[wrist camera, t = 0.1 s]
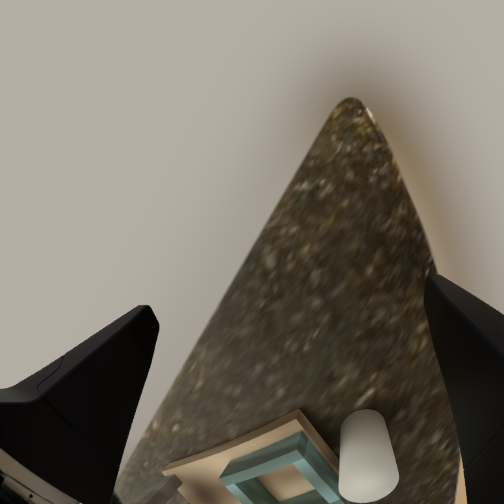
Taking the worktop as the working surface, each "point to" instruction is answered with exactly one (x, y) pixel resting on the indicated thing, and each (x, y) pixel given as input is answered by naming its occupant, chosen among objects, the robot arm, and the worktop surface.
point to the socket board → (258, 469)
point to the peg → (366, 458)
